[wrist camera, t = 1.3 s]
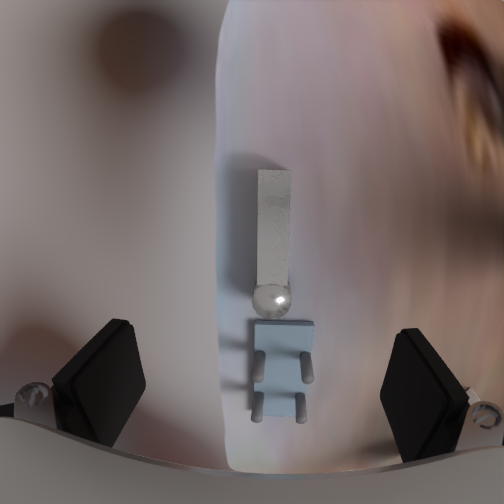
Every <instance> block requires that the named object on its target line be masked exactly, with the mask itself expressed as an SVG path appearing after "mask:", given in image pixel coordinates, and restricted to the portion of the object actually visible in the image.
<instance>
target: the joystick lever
mask: <svg viewBox="0 0 504 504" xmlns="http://www.w3.org/2000/svg"><path fill="white" fill-rule="evenodd" d="M290 192H291V170H258V235H257V281H256V284H255V289H254V293H253V298H252V304H253V308H254V310H255V311H256V312H257V314H259V315H260V316H261V317H264V318H267V319H277V318H280V317H282V316H284V315H285V314H286V313H287V312H288V311H289V309H290V306H291V292H290V284H289V281H288V261H289V233H290Z"/></svg>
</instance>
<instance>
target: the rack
mask: <svg viewBox="0 0 504 504" xmlns="http://www.w3.org/2000/svg"><path fill="white" fill-rule="evenodd" d="M313 331H314V323H313V322H300V321H262V320H255V351H254V361H253V368H252V375H251V380H252V381H253V382H254V399H253V407H252V415H251V420H252V421H253V422H255V423H259V422H261V421H262V416H287V417H296V422H297V423H299V424H303V423H305V422H306V421H307V412H306V400H305V393H306V386H307V384H311V383H312V382H313V381H314V375H313V368H312V361H311V348H312V340H313Z"/></svg>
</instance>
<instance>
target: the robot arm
mask: <svg viewBox="0 0 504 504" xmlns="http://www.w3.org/2000/svg"><path fill="white" fill-rule="evenodd" d="M52 381H53V384H54V385H53V386H52V388H51V387H50V386H49V385H48V384H46V383H43V382H31V383H28V384H26V385H24V386H22V387H21V388H20V389H19V390H18V391H17V392H16V395H15V399H14V403H11V404H6V405H1V406H0V504H504V412H503V411H502V410H501V409H500V407H498V406H497V405H495V404H493V403H491V402H486V401H479V402H476V403H473V404H472V405H470V404H469V402H468V400H469V398H470V397H469V396H468V394H467V393H466V392H465V390H464V389H463V387H462V386H461V385H460V383H459V382H458V380H457V379H456V378H455V376H454V375H453V373H452V372H451V371H450V369H449V368H448V367H447V365H446V364H445V363H444V361H443V360H442V359H441V357H440V356H439V355H438V353H437V352H436V351H435V349H434V348H433V347H432V345H431V344H430V343H429V342H428V340H427V339H426V338H425V336H424V335H423V334H422V333H421V331H420V330H419V329H418V328H409V329H402V330H401V332H400V333H398V334H397V335H396V337H395V342H394V346H393V349H392V353H391V357H390V361H389V364H388V368H387V371H386V375H385V378H384V381H383V385H382V388H381V391H380V399H381V402H382V405H383V408H384V410H385V413H386V416H387V418H388V421H389V424H390V427H391V429H392V432H393V435H394V438H395V441H396V444H397V446H398V449H399V452H400V455H401V458H402V461H403V463H401V464H395V465H389V466H384V467H377V468H371V469H363V470H355V471H345V472H333V473H317V474H260V473H244V472H231V471H222V470H213V469H206V468H199V467H193V466H186V465H181V464H175V463H169V462H165V461H161V460H156V459H152V458H147V457H143V456H139V455H135V454H132V453H128V452H124V451H121V450H117V449H114V448H112V446H113V445H114V443H115V441H116V440H117V438H118V436H119V434H120V433H121V431H122V429H123V427H124V425H125V424H126V422H127V420H128V418H129V417H130V415H131V413H132V411H133V410H134V408H135V406H136V405H137V403H138V401H139V399H140V397H141V396H142V394H143V392H144V390H145V387H146V381H145V377H144V373H143V369H142V365H141V361H140V356H139V351H138V347H137V342H136V337H135V332H134V327H133V326H132V325H130V323H129V321H127V320H121V319H112V320H111V321H109V322H108V323H107V324H106V325H105V327H103V328H102V329H101V330H100V331H99V332H98V333H97V334H96V335H95V336H94V337H93V338H92V339H91V340H90V341H89V342H88V343H87V344H86V345H85V346H84V347H83V348H82V349H81V350H80V351H79V352H78V353H77V354H76V355H75V356H74V357H73V358H72V359H71V360H70V361H69V362H68V363H67V364H66V365H65V366H64V367H63V368H62V369H61V370H60V371H59V372H58V373H57V374H56V375H55V376H54V377H53V378H52Z"/></svg>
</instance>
